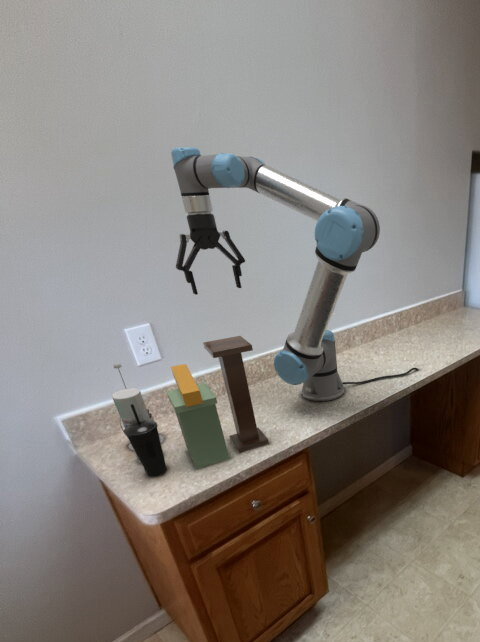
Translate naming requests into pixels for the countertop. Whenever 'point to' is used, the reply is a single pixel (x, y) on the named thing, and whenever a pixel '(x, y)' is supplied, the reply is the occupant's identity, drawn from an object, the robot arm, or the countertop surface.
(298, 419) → the countertop surface
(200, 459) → the green lidded bin
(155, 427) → the drinking cup
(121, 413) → the spray can
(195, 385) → the box
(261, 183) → the robot arm
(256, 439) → the walnut stand
